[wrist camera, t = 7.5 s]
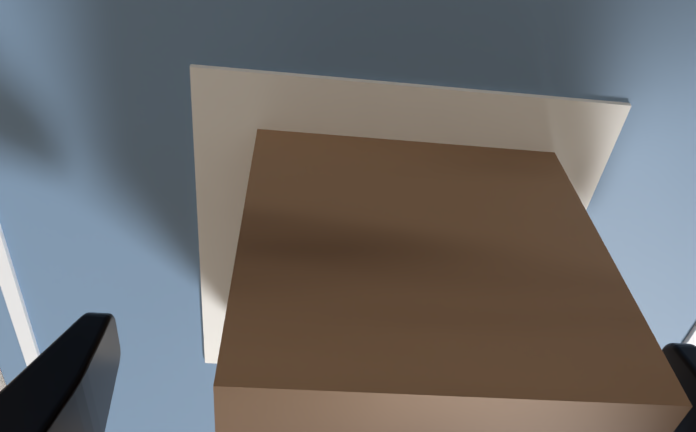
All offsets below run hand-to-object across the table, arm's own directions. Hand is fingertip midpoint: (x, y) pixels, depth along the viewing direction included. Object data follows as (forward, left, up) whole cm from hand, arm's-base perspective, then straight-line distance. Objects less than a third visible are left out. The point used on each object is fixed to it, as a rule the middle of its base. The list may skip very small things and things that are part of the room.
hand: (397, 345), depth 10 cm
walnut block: (0, 0, -2) cm, 2 cm away
